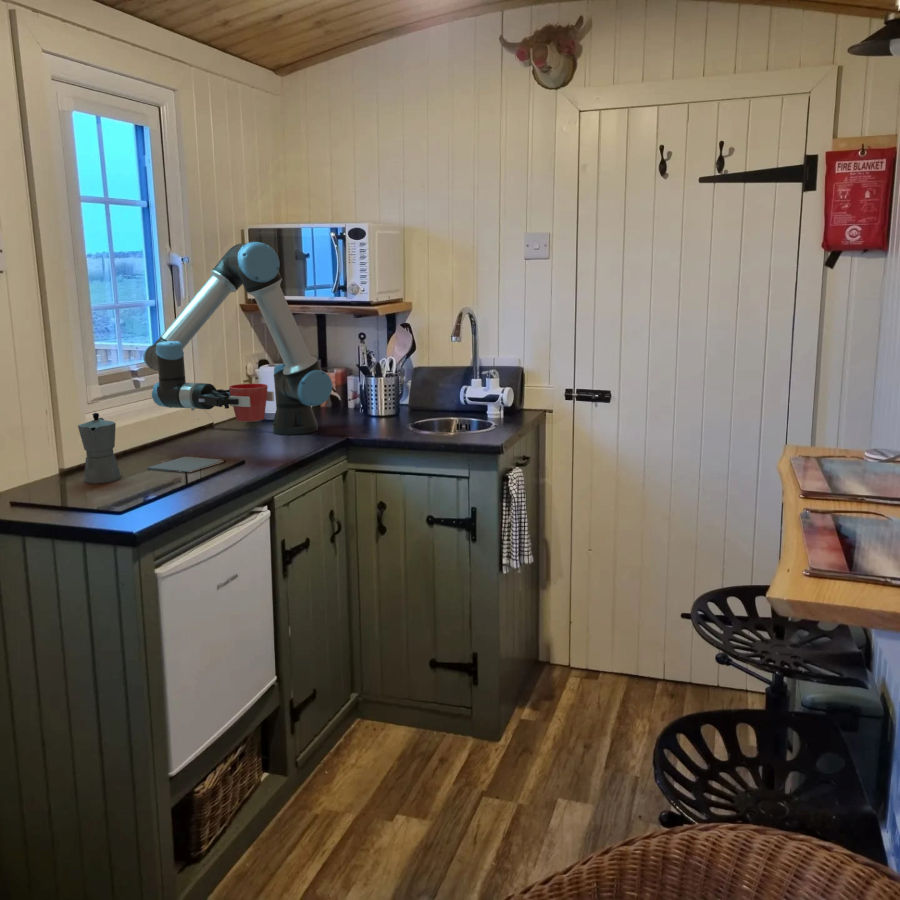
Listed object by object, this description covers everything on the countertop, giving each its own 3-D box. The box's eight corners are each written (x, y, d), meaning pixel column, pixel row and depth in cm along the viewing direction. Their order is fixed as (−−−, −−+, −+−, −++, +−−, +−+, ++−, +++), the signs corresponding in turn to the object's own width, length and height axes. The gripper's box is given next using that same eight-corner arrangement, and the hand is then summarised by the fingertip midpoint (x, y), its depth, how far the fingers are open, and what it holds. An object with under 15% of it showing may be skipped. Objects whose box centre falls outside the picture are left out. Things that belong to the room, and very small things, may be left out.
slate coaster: (185, 458, 258) (185, 456, 258) (225, 462, 252) (225, 460, 252) (147, 469, 245) (147, 467, 245) (189, 473, 239) (189, 471, 238)
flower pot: (277, 416, 253) (274, 383, 251) (257, 423, 243) (254, 388, 241) (244, 415, 257) (242, 382, 255) (223, 422, 246) (221, 387, 244)
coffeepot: (118, 483, 229) (110, 415, 225) (79, 486, 227) (71, 418, 223) (125, 471, 244) (119, 406, 240) (89, 473, 242) (82, 409, 238)
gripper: (225, 403, 267) (286, 406, 258) (173, 415, 247) (236, 418, 238) (223, 378, 265) (284, 380, 256) (170, 388, 245) (234, 391, 236)
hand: (261, 399), depth 247 cm, fingers closed on flower pot, 10 cm apart
